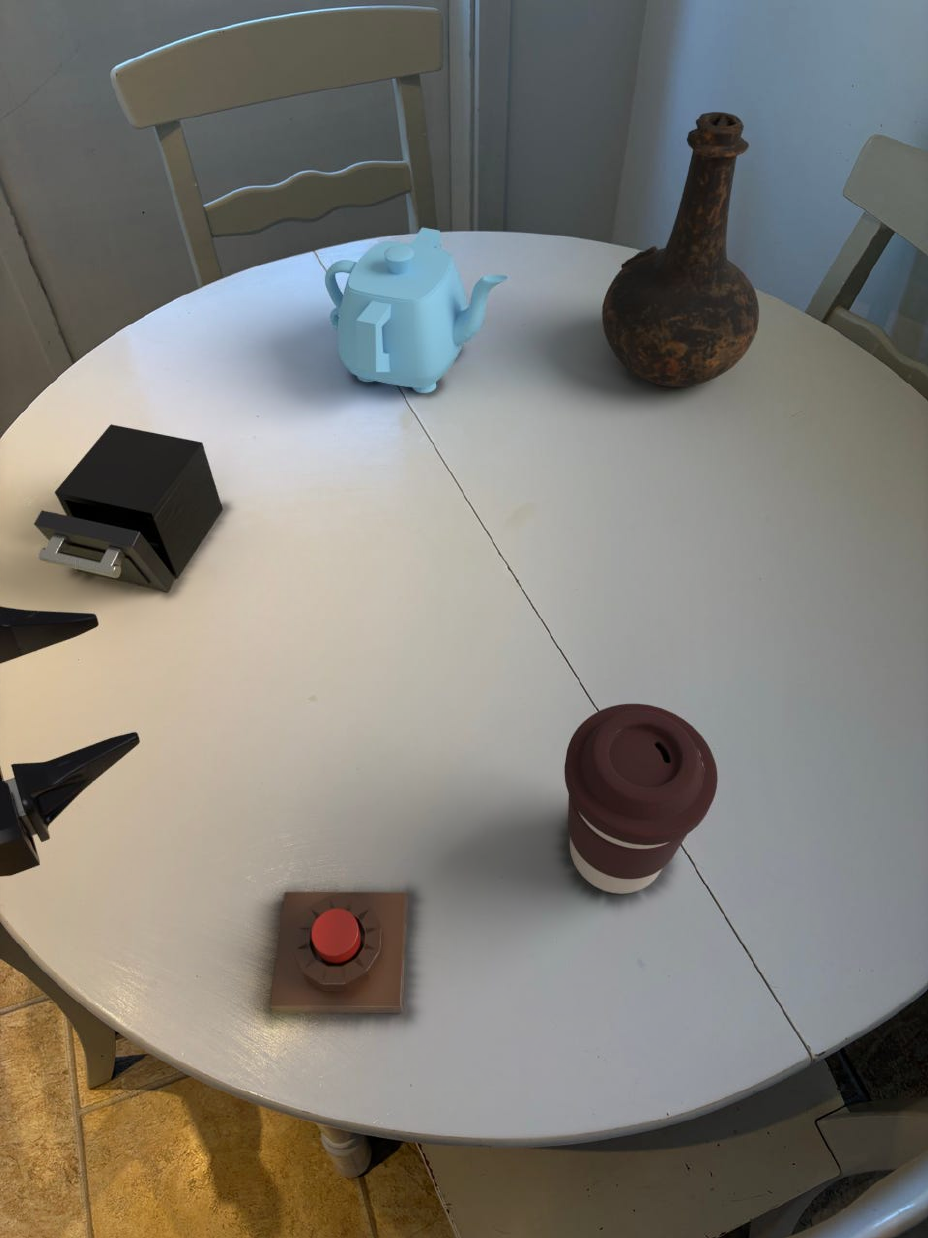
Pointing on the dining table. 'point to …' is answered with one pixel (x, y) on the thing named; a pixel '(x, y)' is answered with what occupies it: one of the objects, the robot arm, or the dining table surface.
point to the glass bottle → (688, 278)
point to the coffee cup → (634, 793)
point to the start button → (336, 935)
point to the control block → (351, 984)
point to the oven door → (102, 551)
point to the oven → (146, 490)
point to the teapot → (405, 312)
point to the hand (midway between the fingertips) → (117, 676)
